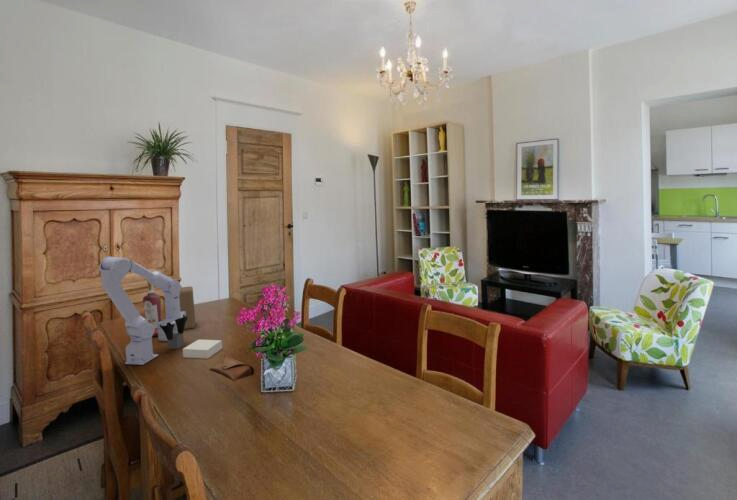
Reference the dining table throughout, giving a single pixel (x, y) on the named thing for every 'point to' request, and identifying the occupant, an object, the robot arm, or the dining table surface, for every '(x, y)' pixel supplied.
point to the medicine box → (160, 332)
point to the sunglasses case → (232, 368)
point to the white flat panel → (202, 349)
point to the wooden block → (187, 306)
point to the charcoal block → (176, 341)
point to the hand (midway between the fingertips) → (175, 336)
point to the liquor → (152, 308)
